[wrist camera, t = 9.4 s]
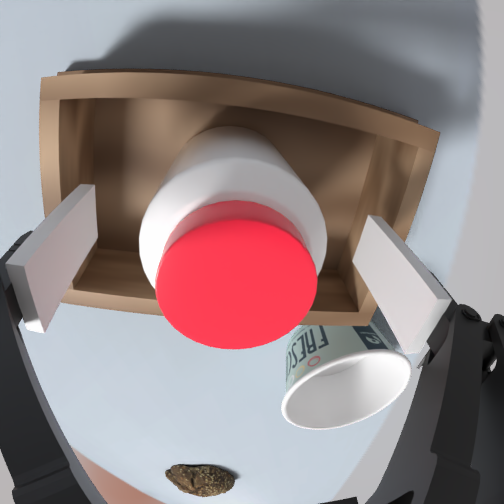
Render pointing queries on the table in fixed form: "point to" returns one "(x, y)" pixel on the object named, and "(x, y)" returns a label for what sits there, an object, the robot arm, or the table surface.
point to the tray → (207, 117)
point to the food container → (340, 375)
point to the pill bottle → (233, 241)
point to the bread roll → (200, 480)
